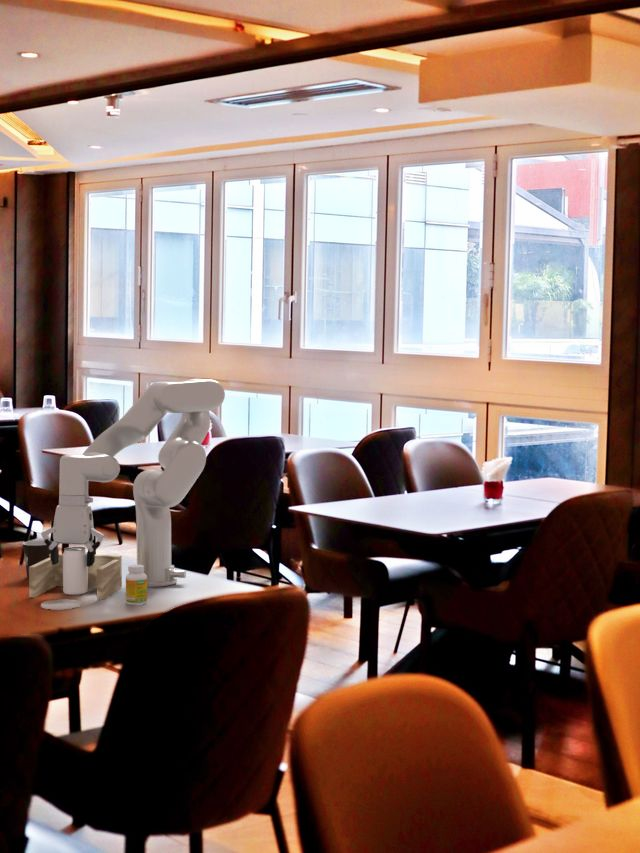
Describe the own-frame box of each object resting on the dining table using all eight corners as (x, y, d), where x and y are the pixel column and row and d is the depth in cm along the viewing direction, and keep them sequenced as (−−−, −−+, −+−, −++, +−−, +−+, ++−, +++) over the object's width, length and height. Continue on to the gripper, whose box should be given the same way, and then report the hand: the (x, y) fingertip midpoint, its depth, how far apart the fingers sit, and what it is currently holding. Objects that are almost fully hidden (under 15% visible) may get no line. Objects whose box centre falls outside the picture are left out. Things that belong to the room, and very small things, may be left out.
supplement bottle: (137, 606, 307) (137, 568, 307) (121, 603, 310) (121, 566, 310) (151, 602, 312) (151, 565, 311) (135, 600, 315) (135, 563, 314)
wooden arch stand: (121, 587, 331) (121, 555, 331) (102, 599, 315) (102, 566, 315) (51, 585, 334) (51, 553, 334) (29, 597, 318) (28, 563, 318)
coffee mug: (51, 580, 341) (51, 545, 340) (20, 580, 340) (20, 545, 340) (57, 572, 353) (57, 538, 352) (27, 573, 352) (27, 538, 351)
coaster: (86, 602, 312) (86, 599, 312) (73, 610, 302) (72, 608, 302) (49, 600, 314) (49, 598, 314) (34, 609, 304) (34, 606, 304)
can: (85, 595, 321) (84, 550, 320) (60, 595, 321) (60, 550, 320) (90, 590, 327) (89, 546, 326) (66, 590, 327) (65, 546, 327)
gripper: (109, 501, 325) (108, 564, 326) (47, 498, 327) (46, 561, 328) (100, 504, 317) (98, 569, 318) (37, 501, 320) (36, 565, 321)
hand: (72, 565), depth 323 cm, fingers open, 9 cm apart
